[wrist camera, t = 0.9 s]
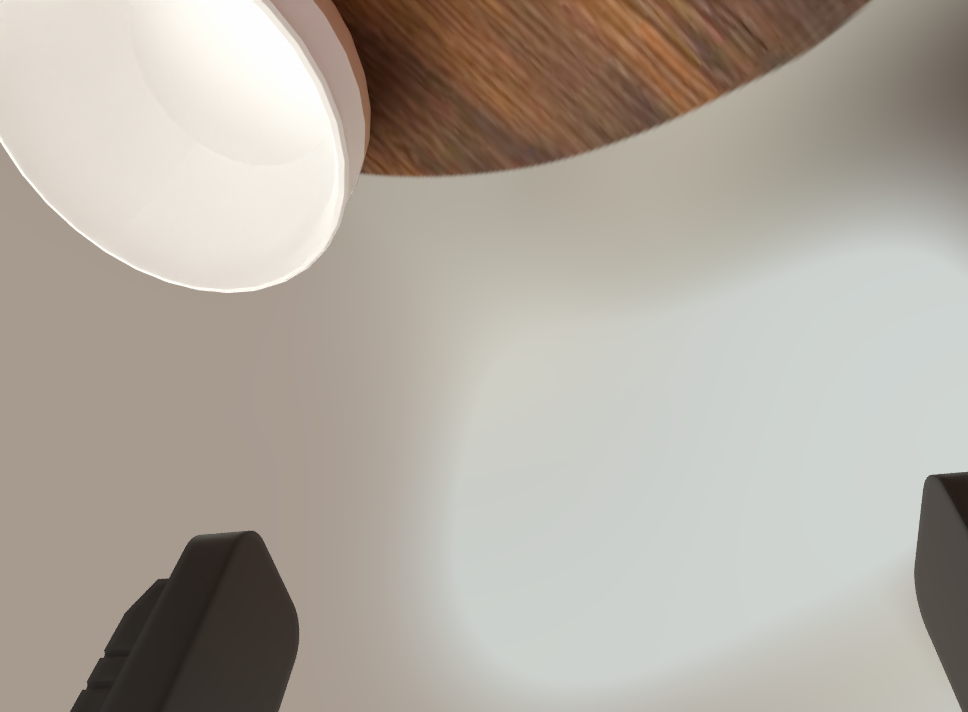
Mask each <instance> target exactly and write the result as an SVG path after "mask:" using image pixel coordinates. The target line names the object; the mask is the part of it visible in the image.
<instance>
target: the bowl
mask: <svg viewBox="0 0 968 712" xmlns="http://www.w3.org/2000/svg"><path fill="white" fill-rule="evenodd" d="M370 113H371V108H370V102H369V96H368V90H367V84H366V78H365V74H364V71H363V68H362V65H361V62H360V59H359V56H358V53H357V50H356V48H355V45H354V42H353V39H352V36H351V34H350V32H349V30H348V28H347V26H346V25H345V23H344V21H343V19H342V17H341V16H340V14H339V12H338V10H337V8H336V6H335V5H334V3H333V2H332V0H0V142H1V143H2V145H3V147H4V148H5V150H6V151H7V153H8V154H9V156H10V157H11V158H12V160H13V162H14V163H15V165H16V166H17V168H18V169H19V171H20V172H21V174H22V175H23V176H24V177H25V178H26V180H27V181H28V182H29V183H30V184H31V186H32V187H33V188H34V189H35V190H36V191H37V193H38V194H39V195H40V196H41V197H42V198H43V200H44V201H45V202H46V203H47V204H48V205H49V206H50V207H51V208H52V209H53V210H54V211H56V212H57V213H58V214H59V215H60V216H61V217H62V218H63V219H64V220H65V221H66V222H67V223H68V224H69V225H70V226H72V227H73V228H74V229H75V230H76V231H78V232H79V233H81V234H82V235H83V236H84V237H86V238H87V239H88V240H90V241H91V242H92V243H94V244H95V245H97V246H98V247H99V248H101V249H102V250H103V251H105V252H107V253H108V254H110V255H112V256H114V257H115V258H117V259H119V260H121V261H122V262H124V263H126V264H128V265H129V266H131V267H133V268H135V269H137V270H139V271H142V272H144V273H147V274H149V275H151V276H154V277H156V278H159V279H161V280H163V281H166V282H169V283H173V284H177V285H181V286H185V287H188V288H192V289H196V290H204V291H214V292H224V293H232V292H244V291H255V290H259V289H263V288H266V287H269V286H273V285H276V284H279V283H283V282H286V281H287V280H289V279H291V278H292V277H294V276H296V275H297V274H299V273H301V272H302V271H304V270H306V269H308V268H309V267H310V266H311V265H312V264H313V263H314V262H315V260H317V259H318V258H319V257H320V256H321V255H322V254H323V252H324V251H325V250H326V249H327V248H328V246H329V245H330V243H331V241H332V239H333V237H334V235H335V233H336V232H337V230H338V228H339V226H340V224H341V221H342V217H343V213H344V209H345V206H346V204H347V202H348V200H349V198H350V196H351V195H352V193H353V191H354V189H355V187H356V185H357V183H358V179H359V175H360V172H361V169H362V167H363V163H364V159H365V155H366V151H367V148H368V144H369V140H370Z"/></svg>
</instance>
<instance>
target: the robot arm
mask: <svg viewBox="0 0 968 712" xmlns="http://www.w3.org/2000/svg"><path fill="white" fill-rule="evenodd" d="M914 575H915V576H914V577H915V588H916V594H917V600H918V604H919V608H920V612H921V615H922V618H923V621H924V624H925V626H926V629H927V631H928V633H929V636H930V638H931V640H932V643H933V645H934V647H935V649H936V652H937V654H938V656H939V659H940V661H941V663H942V665H943V668H944V670H945V673H946V675H947V677H948V680H949V682H950V684H951V686H952V689H953V691H954V693H955V696H956V698H957V700H958V702H959V705H960V707H961V709H962V712H968V472H961V473H950V474H938V475H930V476H928V477H927V479H926V480H925V483H924V488H923V496H922V505H921V514H920V523H919V532H918V541H917V550H916V560H915V571H914ZM298 644H299V623H298V617H297V613H296V609H295V607H294V604H293V602H292V600H291V598H290V596H289V594H288V592H287V589H286V587H285V585H284V583H283V581H282V579H281V577H280V575H279V573H278V571H277V568H276V566H275V564H274V562H273V560H272V558H271V556H270V554H269V552H268V550H267V547H266V545H265V543H264V541H263V539H262V538H261V537H260V535H259V534H257V533H256V532H254V531H242V532H231V533H217V534H206V535H198V536H195V537H194V538H192V539H191V540H190V541H189V542H188V544H187V546H186V547H185V549H184V551H183V553H182V555H181V557H180V559H179V561H178V562H177V565H176V566H175V568H174V570H173V572H172V574H171V576H170V578H169V579H158V580H157V581H156V582H155V583H154V584H153V585H152V586H151V587H150V588H149V589H148V590H147V591H146V592H145V593H144V594H143V595H142V596H141V597H140V598H139V599H138V600H137V601H136V602H135V604H133V605H132V606H131V608H130V609H129V610H128V611H127V612H126V613H125V614H124V616H123V618H122V620H121V622H120V623H119V625H118V627H117V629H116V630H115V632H114V634H113V636H112V638H111V639H110V641H109V643H108V645H107V646H106V648H105V650H104V651H105V656H104V658H100V659H99V661H98V663H97V665H96V666H95V668H94V670H93V672H92V674H91V675H90V677H89V679H88V681H87V684H88V686H87V689H86V690H82V691H81V693H80V695H79V697H78V698H77V700H76V702H75V704H74V706H73V707H72V709H71V711H70V712H278V711H279V708H280V705H281V702H282V699H283V696H284V693H285V690H286V687H287V684H288V680H289V678H290V674H291V671H292V668H293V665H294V662H295V659H296V655H297V651H298Z"/></svg>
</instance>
